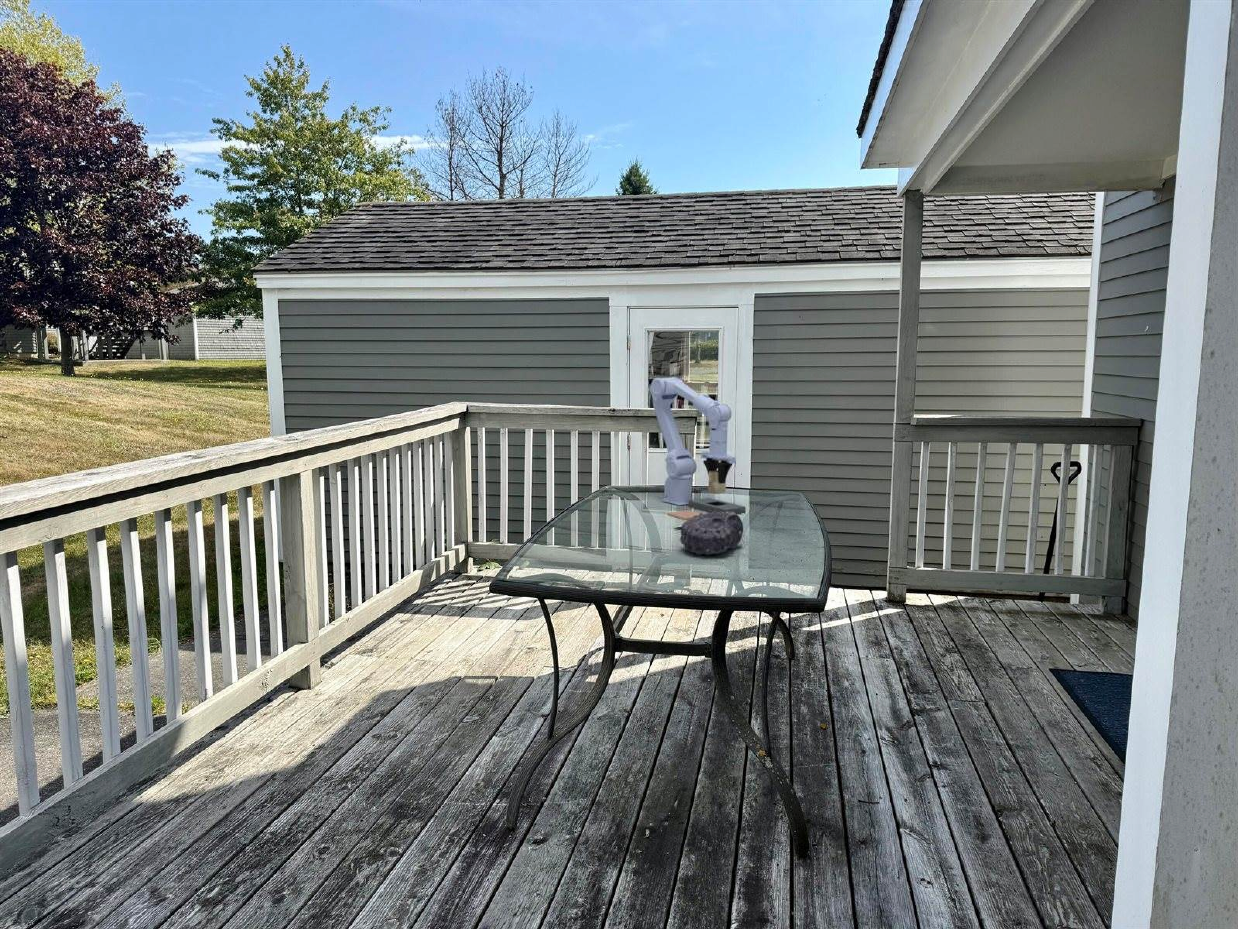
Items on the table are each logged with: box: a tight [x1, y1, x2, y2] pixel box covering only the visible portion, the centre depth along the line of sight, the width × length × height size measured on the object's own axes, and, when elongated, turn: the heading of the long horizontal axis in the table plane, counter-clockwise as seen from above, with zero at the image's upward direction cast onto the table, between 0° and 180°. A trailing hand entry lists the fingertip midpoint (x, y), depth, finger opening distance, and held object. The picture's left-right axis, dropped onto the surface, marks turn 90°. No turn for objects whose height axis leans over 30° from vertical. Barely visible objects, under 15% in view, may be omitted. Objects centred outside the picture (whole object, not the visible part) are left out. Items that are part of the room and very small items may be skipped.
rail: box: [688, 497, 747, 515], centre depth 284 cm, size 18×9×2 cm, turn 36°
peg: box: [707, 469, 727, 495], centre depth 282 cm, size 4×4×7 cm
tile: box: [666, 509, 701, 521], centre depth 275 cm, size 9×9×1 cm
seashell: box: [678, 511, 744, 556], centre depth 232 cm, size 20×13×15 cm
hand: (717, 482), depth 282 cm, fingers closed on peg, 4 cm apart
